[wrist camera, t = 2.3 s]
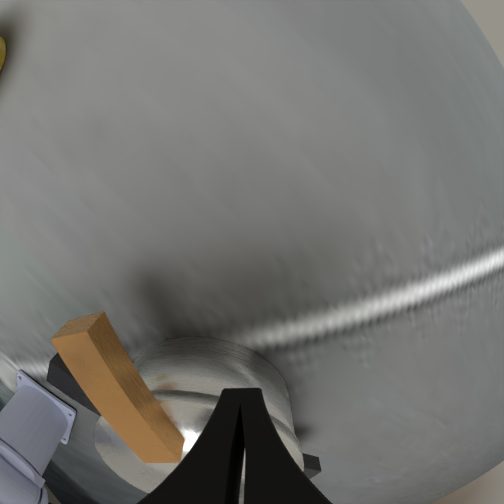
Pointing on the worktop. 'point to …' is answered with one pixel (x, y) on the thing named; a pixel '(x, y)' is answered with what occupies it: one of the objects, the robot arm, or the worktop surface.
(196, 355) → the cooker pot
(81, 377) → the lid
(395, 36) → the worktop surface
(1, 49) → the plant pot
